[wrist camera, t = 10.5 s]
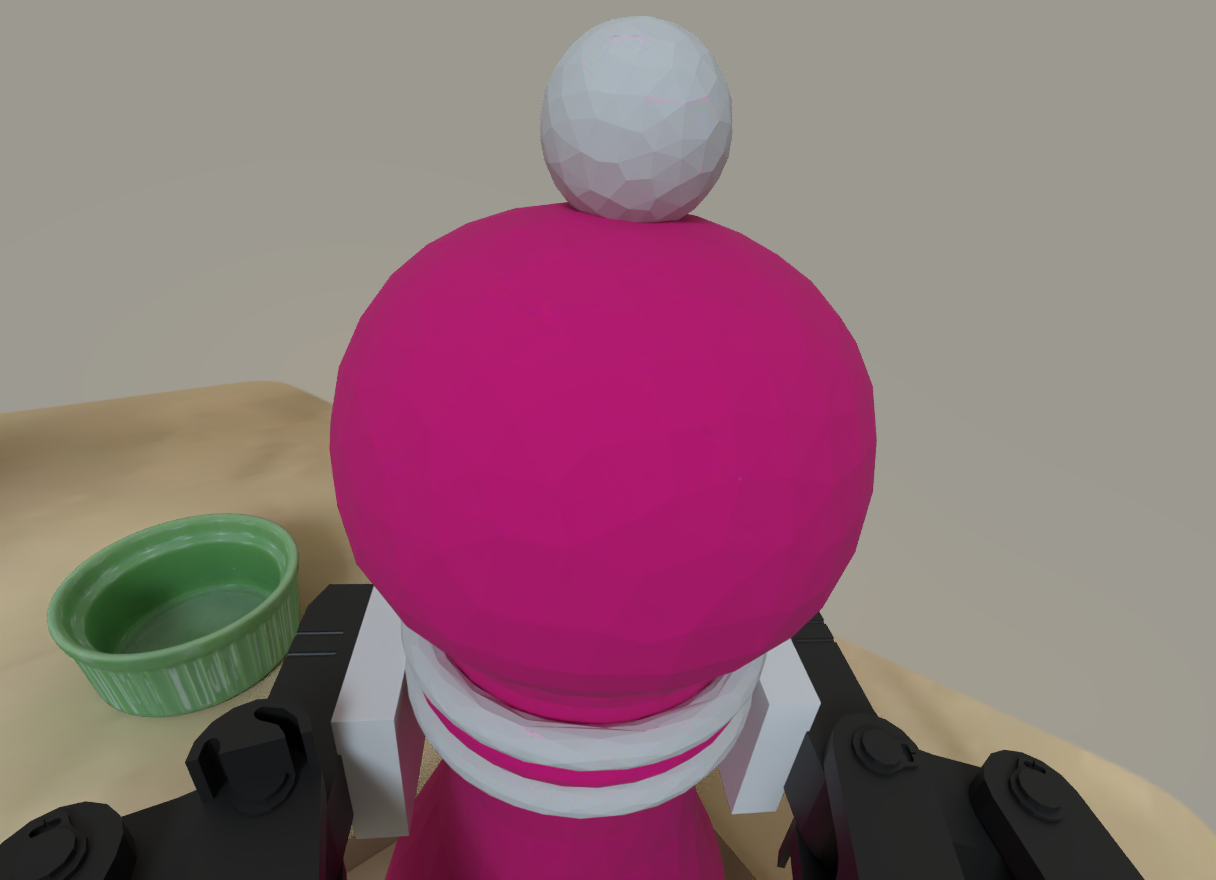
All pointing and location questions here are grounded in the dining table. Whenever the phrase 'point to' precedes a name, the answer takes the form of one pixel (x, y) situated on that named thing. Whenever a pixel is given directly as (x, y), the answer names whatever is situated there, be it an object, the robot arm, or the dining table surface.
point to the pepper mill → (598, 482)
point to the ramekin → (181, 612)
